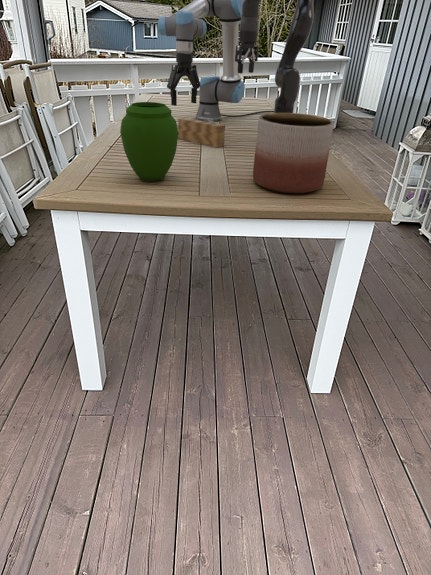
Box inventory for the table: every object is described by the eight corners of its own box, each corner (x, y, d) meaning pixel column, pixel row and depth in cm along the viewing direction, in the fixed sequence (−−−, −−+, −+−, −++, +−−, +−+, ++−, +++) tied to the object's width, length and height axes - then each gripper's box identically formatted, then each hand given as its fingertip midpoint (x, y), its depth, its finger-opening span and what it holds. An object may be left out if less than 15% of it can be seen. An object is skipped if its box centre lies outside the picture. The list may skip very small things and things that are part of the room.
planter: (334, 195, 139) (348, 127, 128) (262, 196, 135) (270, 126, 123) (308, 173, 160) (318, 112, 149) (245, 173, 156) (250, 111, 145)
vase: (131, 189, 135) (125, 110, 122) (118, 172, 150) (112, 100, 137) (186, 184, 142) (187, 109, 129) (169, 168, 157) (167, 99, 144)
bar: (178, 138, 202) (178, 118, 197) (184, 137, 205) (184, 117, 200) (217, 147, 190) (218, 126, 185) (223, 146, 193) (225, 125, 188)
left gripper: (170, 53, 173) (171, 107, 184) (208, 53, 189) (207, 103, 200) (158, 51, 177) (159, 105, 188) (196, 52, 193) (195, 101, 204)
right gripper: (246, 29, 166) (243, 74, 174) (265, 30, 176) (261, 73, 184) (231, 28, 170) (229, 72, 178) (250, 30, 179) (247, 71, 188)
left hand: (184, 104), depth 194 cm, fingers open, 13 cm apart
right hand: (245, 72), depth 181 cm, fingers open, 8 cm apart
